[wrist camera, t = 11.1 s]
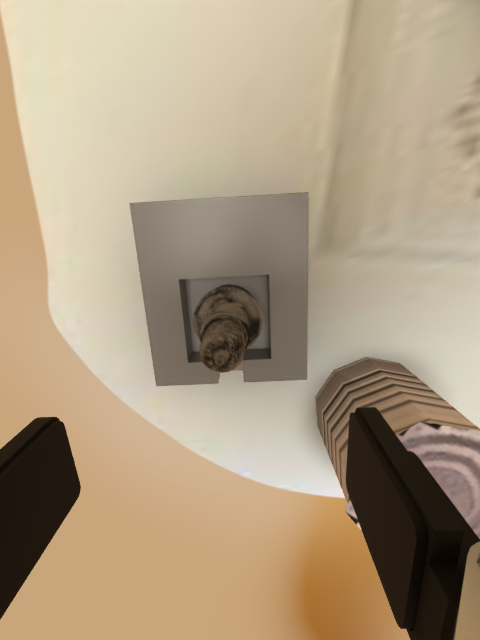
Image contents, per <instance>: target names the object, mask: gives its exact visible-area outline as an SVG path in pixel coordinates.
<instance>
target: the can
mask: <svg viewBox="0 0 480 640" xmlns="http://www.w3.org/2000/svg"><path fill="white" fill-rule="evenodd" d="M360 407H376V408H377V409H378V410H379V412H380V413H381V415H382V416H383V417H384V419H385V420H386V422H387V423H388V424H389V426H390V427H391V428H392V430H393V431H394V433H395V434H396V435H397V437H398V438H399V440H400V441H401V442H402V444H403V445H404V447H405V448H406V449H407V451H412V452H414V453H415V454H416V455H417V456H418V457H419V459H420V460H421V461H422V463H423V464H424V465H425V467H426V468H427V469H428V471H429V472H430V473H431V475H432V476H433V477H434V479H435V480H436V481H437V483H438V484H439V485H440V487H441V488H442V489H443V491H444V492H445V493H446V495H447V496H448V497H449V499H450V500H451V501H452V503H453V504H454V505H455V507H456V508H457V509H458V511H459V512H460V513H461V515H462V516H463V518H464V519H465V520H466V522H467V523H468V524H469V526H470V527H471V528H472V530H473V531H474V532H475V534H476V535H477V536H478V538H479V539H480V429H479V428H478V427H477V426H476V425H474V424H473V423H472V422H471V421H469V420H468V419H467V418H466V417H465V416H463V415H462V414H461V413H460V412H458V411H457V410H456V409H455V408H454V407H452V406H451V405H450V404H449V403H447V402H446V401H445V400H444V399H443V398H441V397H440V396H439V395H438V394H436V393H435V392H434V391H433V390H432V389H430V388H429V387H428V386H427V385H426V384H424V383H423V382H422V381H421V380H419V379H418V378H417V377H416V376H415V375H413V374H412V373H411V372H410V371H408V370H407V369H406V368H405V367H404V366H402V365H401V364H400V363H396V362H390V361H385V360H379V359H374V358H369V357H366V358H363V359H361V360H358V361H356V362H353V363H351V364H348V365H346V366H343V367H341V368H338V369H336V370H334V371H333V372H332V374H331V375H330V377H329V378H328V380H327V381H326V382H325V384H324V385H323V387H322V388H321V390H320V391H319V392H318V394H317V395H316V412H317V425H318V428H319V431H320V433H321V436H322V438H323V441H324V444H325V446H326V449H327V451H328V454H329V457H330V459H331V462H332V464H333V467H334V470H335V472H336V475H337V477H338V480H339V482H340V485H341V488H342V490H343V493H344V495H345V498H346V500H347V507H346V513H347V514H348V515H349V516H350V517H351V519H352V520H353V521H354V522H355V524H356V525H357V526H358V527H359V528H360V529H361V527H360V524H359V522H358V519H357V516H356V514H355V511H354V508H353V506H352V503H351V500H350V498H349V495H348V492H347V488H346V466H347V449H348V432H349V416H350V413H352V412H355V410H356V408H360ZM361 531H362V530H361Z"/></svg>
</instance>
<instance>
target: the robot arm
mask: <svg viewBox="0 0 480 640" xmlns="http://www.w3.org/2000/svg"><path fill="white" fill-rule="evenodd" d="M80 488H81V487H80V482H79V478H78V474H77V471H76V467H75V463H74V459H73V456H72V452H71V448H70V444H69V441H68V437H67V433H66V430H65V426H64V423H63V422H61V421H60V420H59V419H58V418H57V417H40V418H36V419H34V420H33V421H32V422H31V423H30V424H29V425H27V426H26V427H25V428H24V429H23V430H22V431H21V432H20V433H18V434H17V435H16V436H15V437H14V438H13V439H12V440H11V441H9V442H8V443H7V444H6V445H5V446H4V447H2V448H1V449H0V619H1V618H2V616H3V615H4V613H5V611H6V610H7V608H8V607H9V605H10V603H11V602H12V600H13V599H14V597H15V596H16V594H17V592H18V591H19V589H20V588H21V586H22V585H23V583H24V582H25V580H26V579H27V577H28V575H29V574H30V572H31V571H32V569H33V568H34V566H35V564H36V563H37V561H38V560H39V558H40V557H41V555H42V553H43V552H44V550H45V549H46V547H47V546H48V544H49V542H50V541H51V539H52V538H53V536H54V535H55V533H56V531H57V530H58V528H59V527H60V525H61V524H62V522H63V520H64V519H65V517H66V516H67V514H68V513H69V511H70V510H71V508H72V506H73V505H74V503H75V502H76V500H77V498H78V497H79V494H80ZM346 488H347V492H348V495H349V498H350V500H351V503H352V506H353V508H354V511H355V514H356V516H357V519H358V522H359V524H360V527H361V530H362V532H363V535H364V537H365V540H366V543H367V545H368V548H369V551H370V553H371V556H372V559H373V561H374V564H375V567H376V569H377V572H378V575H379V577H380V580H381V583H382V585H383V588H384V591H385V593H386V596H387V599H388V601H389V604H390V606H391V609H392V612H393V615H394V617H395V620H396V622H397V624H398V626H399V627H400V628H401V629H404V628H405V629H407V632H408V634H409V637H410V639H411V640H480V539H479V538H478V536H477V535H476V534H475V532H474V531H473V530H472V528H471V527H470V526H469V524H468V523H467V522H466V520H465V519H464V518H463V516H462V515H461V513H460V512H459V511H458V509H457V508H456V507H455V505H454V504H453V503H452V501H451V500H450V499H449V497H448V496H447V495H446V493H445V492H444V491H443V489H442V488H441V487H440V485H439V484H438V483H437V481H436V480H435V479H434V477H433V476H432V475H431V473H430V472H429V471H428V469H427V468H426V467H425V465H424V464H423V463H422V461H421V460H420V459H419V457H418V456H417V455H416V454H415V453H414V452H412V451H407V449H406V448H405V447H404V445H403V444H402V442H401V441H400V440H399V438H398V437H397V435H396V434H395V433H394V431H393V430H392V428H391V427H390V426H389V424H388V423H387V422H386V420H385V419H384V417H383V416H382V415H381V413H380V412H379V410H378V409H377V408H376V407H360V408H356V410H355V412H352V413H350V416H349V432H348V449H347V466H346Z"/></svg>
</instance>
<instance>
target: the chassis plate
mask: <svg viewBox="0 0 480 640" xmlns="http://www.w3.org/2000/svg"><path fill="white" fill-rule="evenodd" d="M130 209H131V216H132V223H133V230H134V236H135V243H136V250H137V257H138V264H139V271H140V277H141V284H142V291H143V298H144V305H145V312H146V318H147V325H148V332H149V339H150V346H151V352H152V359H153V366H154V373H155V380H156V386H169V385H192V384H215V383H218V382H219V376H220V372H215V371H212V370H210V369H209V368H207V367H206V366H205V365H204V364H203V362H202V360H201V357H200V352H199V351H200V345H201V342H200V340H199V339H198V337H197V335H196V333H195V330H194V326H193V314H194V311H195V308H196V306H197V304H198V303H199V301H200V300H201V298H202V297H204V296H205V295H206V294H207V293H208V292H211V291H212V290H213V289H214V288H217V287H219V286H221V285H227V284H231V285H237V286H240V287H243V288H244V289H245V290H247V291H248V292H249V293H250V294H251V295H252V296H253V298H254V300H255V301H256V302H257V303H258V306H259V308H260V310H261V313H262V319H263V323H262V330H261V333H260V335H259V337H258V339H257V340H256V341H255V343H254V344H253V345H252V346H251V347H249V348H248V349H247V350H245V355H244V358H243V360H242V362H241V363H240V364H239V366H238V367H236V368H235V369H234V370H243V373H244V382H260V381H283V380H306V379H307V290H308V192H305V193H288V194H272V195H256V196H239V197H223V198H207V199H190V200H174V201H157V202H141V203H130ZM231 371H233V370H231Z"/></svg>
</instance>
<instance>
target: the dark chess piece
mask: <svg viewBox="0 0 480 640" xmlns="http://www.w3.org/2000/svg"><path fill="white" fill-rule="evenodd" d="M262 323H263V319H262V313H261V310H260V308H259V306H258V303H257V302H256V301H255V300H254V298H253V296H252V295H251V294H250V293H249V292H248V291H247V290H245V289H244V288H243V287H240V286H237V285H231V284H227V285H221V286H219V287H217V288H214V289H213V290H212V291H211V292H208V293H207V294H206V295H205V296H204V297H202V298H201V300H200V301H199V303H198V304H197V306H196V308H195V311H194V314H193V326H194V330H195V333H196V335H197V337H198V339H199V340H200V342H201V345H200V351H199V352H200V357H201V360H202V362H203V364H204V365H205V366H206V367H207V368H209V369H210V370H212V371H215V372H222V373H223V372H229V371H231V370H234V369H235V368H236V367H238V366H239V364H240V363H241V362H242V360H243V358H244V355H245V350H247V349H248V348H249V347H251V346H252V345H253V344H254V343H255V341H256V340H257V339H258V337H259V335H260V333H261V330H262Z"/></svg>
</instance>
